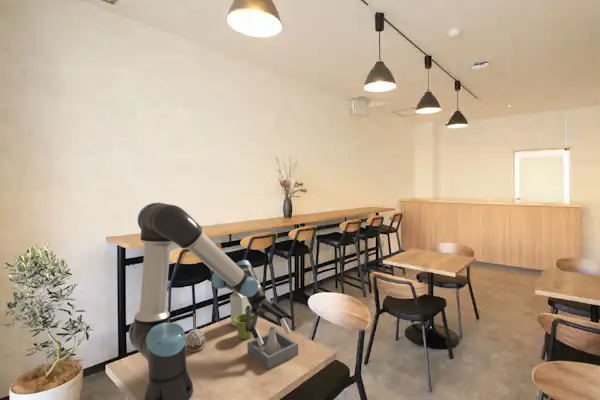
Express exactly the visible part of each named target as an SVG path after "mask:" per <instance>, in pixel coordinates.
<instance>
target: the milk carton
mask: <svg viewBox="0 0 600 400" xmlns="http://www.w3.org/2000/svg"><path fill="white" fill-rule="evenodd" d="M229 299H230V301H229V302H230V325H232V326H235V327H237V325H236V322H235V321H234V318H235V317H236V316H238V315H240V314H246V312H245V308H246V307H247V306H251V305H250V304H249V301H248V299H247V297H246V296H242V295H241V294H239V293H237V292H235V291H233V293H231V294H230V295H229Z"/></svg>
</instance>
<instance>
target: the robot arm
mask: <svg viewBox="0 0 600 400" xmlns="http://www.w3.org/2000/svg"><path fill="white" fill-rule="evenodd" d="M137 224H138V226H139V228H140V242H141V243H143V244H144V250H143V251H144V253H143V263H142V277H141V289H140V300H139V301H140V303H139V311H137V312H136V313H135V315H134V318H133V319H134V321H133V322H132V323H131V325H130V327H129V330H128V338H129V341H130V343H131V345H132V346H133V347H134V348H135V349H136V350H137V351H138V352H139V353H140V354H141V355H142V356H143V357H144V358H145V359H146V361H147V364H148V377H149V378H148V382H147V384H146V385H147V386H146V389H145V393H144V398H143V399H144V400H191V398H192V395H193V393H194V387H193V385H194V384H193V381H192V378H191V376H190V375H189V372H188V370H187V354H186V353H187V349H186V335H185V330H184V328H183V327H182V326H181V325H180V324H178V323H175V322H173V323H172V322H170V312H169V311H168V310H167V309H166V307H167V295H168V283H169V282H168V281H169V270H170V269H169V268H170V255H171V245H172V244H173V243H175V244H176V245H178V246H179V248H180V249H183V250H184V249H187V250H188V251H189V252H191V254H193V255H194V256H195V257H197V259H199V261H201V263H203V264H204V265H205V266H207V268H208V269H210V270H211V271H213V273H212V276H211V282H212V285H213V287H214V288H215V290H220V289H228V290H230V291H232V292H237V293H239V294H241V295H242V296H246V297H247V299H248V301H249V304H250V305H251V306H247V307H246V308H245V312H246V331H247V332H248V331H249V332H252V337H253V340H255V339H257V342H258V344H259V346H260V347H261V346H262V345H263V344H264V342H263V340H262V338H261V337H262V336H261V334H260V331H259V329H258V328H257V327H256V325H257V321H258V318H259V315H262V314H265V313H269V314H271V315H272V316H274V317H277V318H278V319H280V320H279V322H280V324H281V326H282V328H283V330H284V333H285V336H286V335H289V334H290V333H291V329H290V328H289V322H288V320H287V318H286V317H287V315H288V314H289V313H288V312H287V311H286V310H285V309H284V308H283V307H282V306H281V305H280V304H279V303H278V302H276V300H275V298H274V297H271V298H270V299H267V298H266V297H267V296H266V294H265V292H264V290H263V287H262V286H261V283H260V282H259V279H258V277H257V275H256V272H255V270H254V268H253V266H252V265H251V262H250V261H249V260H247V259H243V260H241V261H240V260H239V261H238V262H235V261H233V260H232V258H231V257H230V256H228V255H227V254H226V253H225V252H224V251H223V250H222V249H221V248H220V247H219V246H218V245H217V244H216V243H214V242H213V240H211V239H210V238H209V237H208V236H207V235H206V234H205V232H204V229H203V227H202V226H201V225H200V224H199V223H198V222H197V221H196V220H195V219H194V218H193V217H192V216H191V215H190V214H189V213H188V212H187V211H185V210H184V208H181V207H180V206H178V205H174V204H169V203H164V202H153V203H149V204H146V205H145V206H144V207H142V208H141V210H140V211H139V213H138V215H137ZM252 311H253V312H254V313H253V314H252ZM251 314H252V315H253V316H254V317H253V320H252V324H251Z"/></svg>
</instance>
